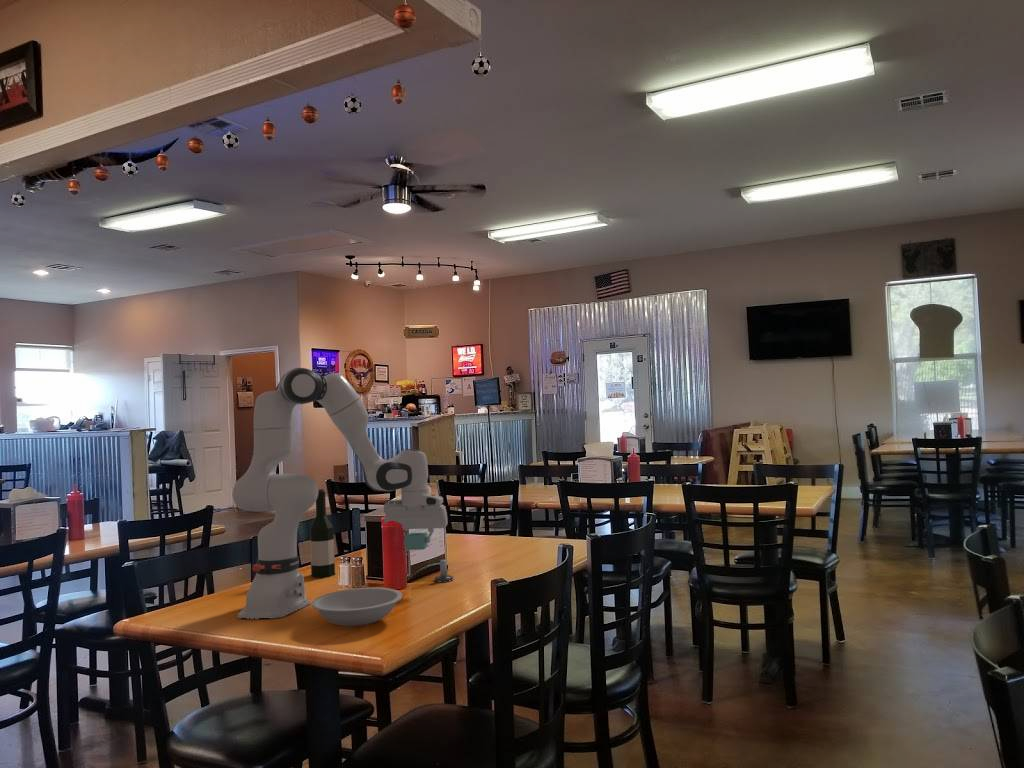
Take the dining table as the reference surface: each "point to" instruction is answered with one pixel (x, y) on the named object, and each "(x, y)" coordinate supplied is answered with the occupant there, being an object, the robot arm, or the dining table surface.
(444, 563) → the post stand
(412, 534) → the teal block
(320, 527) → the wine bottle
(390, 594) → the soup bowl
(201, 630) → the dining table surface
